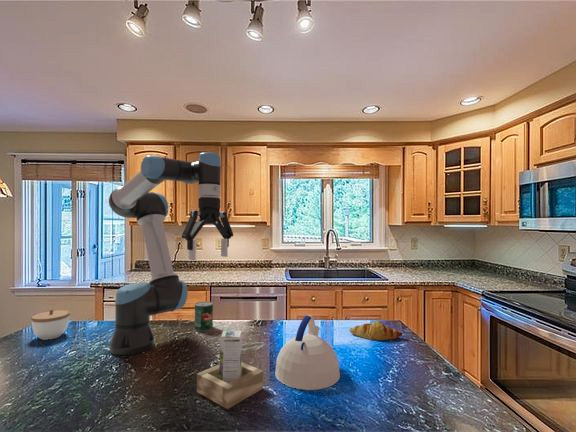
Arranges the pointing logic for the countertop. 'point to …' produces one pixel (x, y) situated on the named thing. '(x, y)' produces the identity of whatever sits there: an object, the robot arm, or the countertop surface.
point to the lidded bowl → (50, 324)
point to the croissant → (376, 331)
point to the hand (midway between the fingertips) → (209, 258)
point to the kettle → (307, 360)
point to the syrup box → (230, 356)
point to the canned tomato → (203, 316)
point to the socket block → (229, 385)
